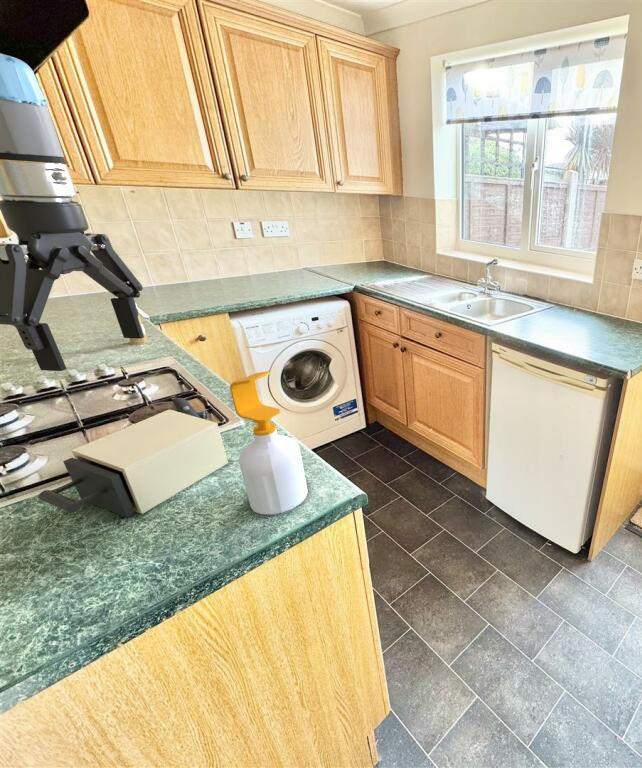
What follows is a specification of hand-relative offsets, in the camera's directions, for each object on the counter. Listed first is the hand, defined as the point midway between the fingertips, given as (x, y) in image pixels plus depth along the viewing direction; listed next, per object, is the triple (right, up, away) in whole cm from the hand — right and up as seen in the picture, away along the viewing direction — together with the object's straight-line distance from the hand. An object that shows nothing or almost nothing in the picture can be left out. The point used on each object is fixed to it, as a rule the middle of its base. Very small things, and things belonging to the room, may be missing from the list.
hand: (98, 352), depth 63 cm
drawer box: (-2, -23, +15) cm, 27 cm away
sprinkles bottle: (-59, +8, +73) cm, 94 cm away
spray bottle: (+21, -26, +12) cm, 35 cm away
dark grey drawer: (-3, -24, +10) cm, 26 cm away
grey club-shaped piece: (-10, -14, +32) cm, 36 cm away
